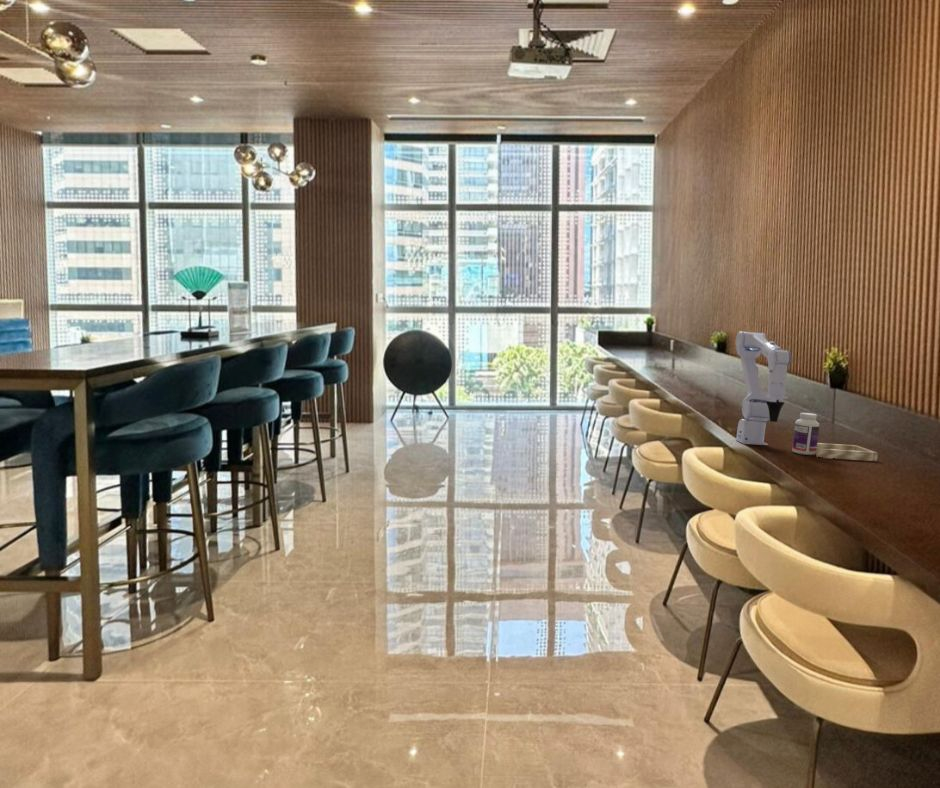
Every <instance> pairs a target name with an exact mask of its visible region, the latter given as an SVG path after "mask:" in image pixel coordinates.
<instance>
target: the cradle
mask: <svg viewBox="0 0 940 788" xmlns="http://www.w3.org/2000/svg"><path fill="white" fill-rule="evenodd" d="M878 455H879V453H878V452H877V451H874V450H871V449H868V448H865V447H863V446H859V445H857V444H840V443H839V444H838V443H824V442H817V450H816V453H815V457H816V458H818V457H821V458H820V459H833V458H835V459H836V460H837V459H839V460H853V461H868V462H877V461H878ZM822 457H823V458H822Z"/></svg>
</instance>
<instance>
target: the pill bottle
mask: <svg viewBox="0 0 940 788" xmlns="http://www.w3.org/2000/svg"><path fill="white" fill-rule="evenodd" d="M799 417H800V418H798V419H796V420H795V423H794V429H793V431H794V432H793V439H792V445H791V447H792V448H791V450H792V452H793V453H796V454H798V455H803V456H804V455H805V456H814V455H816V453H817V452H816V450H817V443H819V442H818V441H819V434H820V433H819V432H820V425H821V424H820V423H819V422H818V421H817V418H818V415H817V414H816V413H811V412H800V413H799Z"/></svg>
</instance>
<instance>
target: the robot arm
mask: <svg viewBox="0 0 940 788" xmlns="http://www.w3.org/2000/svg"><path fill="white" fill-rule="evenodd" d="M734 342H735V343H734V344H735V348H736V349H735V350H736V353H737V356H739V357H740V363H741V366H742V367H741V368H742V373H743V378H744V383H745V387H746V393H747V396H746V397H744V398H743V400H742V402H741V407H742V408H741V414H742V416H743V418H744V419H743V418H741V419H739V421H738V423H737V430H736V437H735V441H737V442H739V443H741V444H743V445H757V446H758V445H759V446H769V444H768V443H766V442H765V436H766V435H765V434H766V427H767V422H768V421H769V422H771V423H772V422H774V423H777V422H778V420H779V416H780V413H781V410H782V409H783V407H784V404H785V402H784V401H782V400H788V399H789V397H788V396H785V395H786V384H787V373H788V367H789V366H790V365H791V363H792V354H791V351H790V350H789V349H786V350H785V349H784V350H783V349H782V347H781V346H779V345H777V344H776V342H775V341H770V340H769V341H768V339H767V336H766V334H765V333H764V332H753V331H752V332H751V331H742V330H739V331H738V332H737V334H736V337H735V341H734ZM761 354H762V355H763V356H764V357H765V358H766V359H767V365H768V367H767V368H768V371H769V374H768V384H767V394H766V395H765V394H763V392H762V387H761V383H760V376H759V373H758V367H757V362H756V358H758V357H760V356H761Z"/></svg>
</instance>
